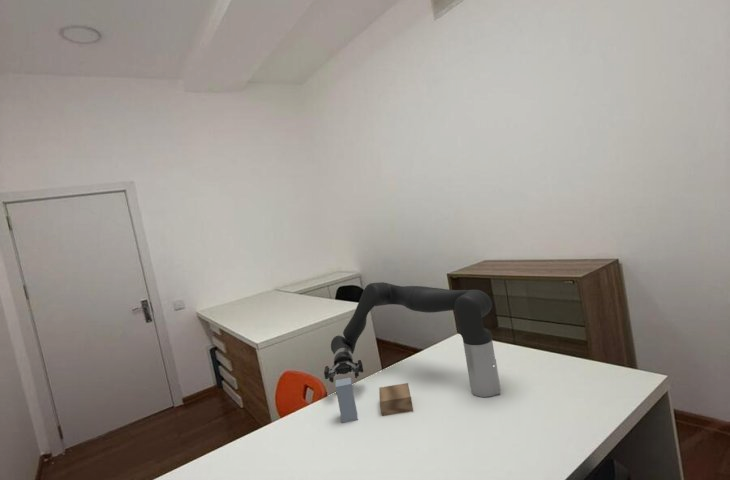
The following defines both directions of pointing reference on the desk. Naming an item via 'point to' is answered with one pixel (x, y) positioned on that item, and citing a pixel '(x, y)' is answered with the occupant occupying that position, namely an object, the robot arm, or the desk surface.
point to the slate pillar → (346, 400)
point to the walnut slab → (395, 399)
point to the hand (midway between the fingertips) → (344, 377)
